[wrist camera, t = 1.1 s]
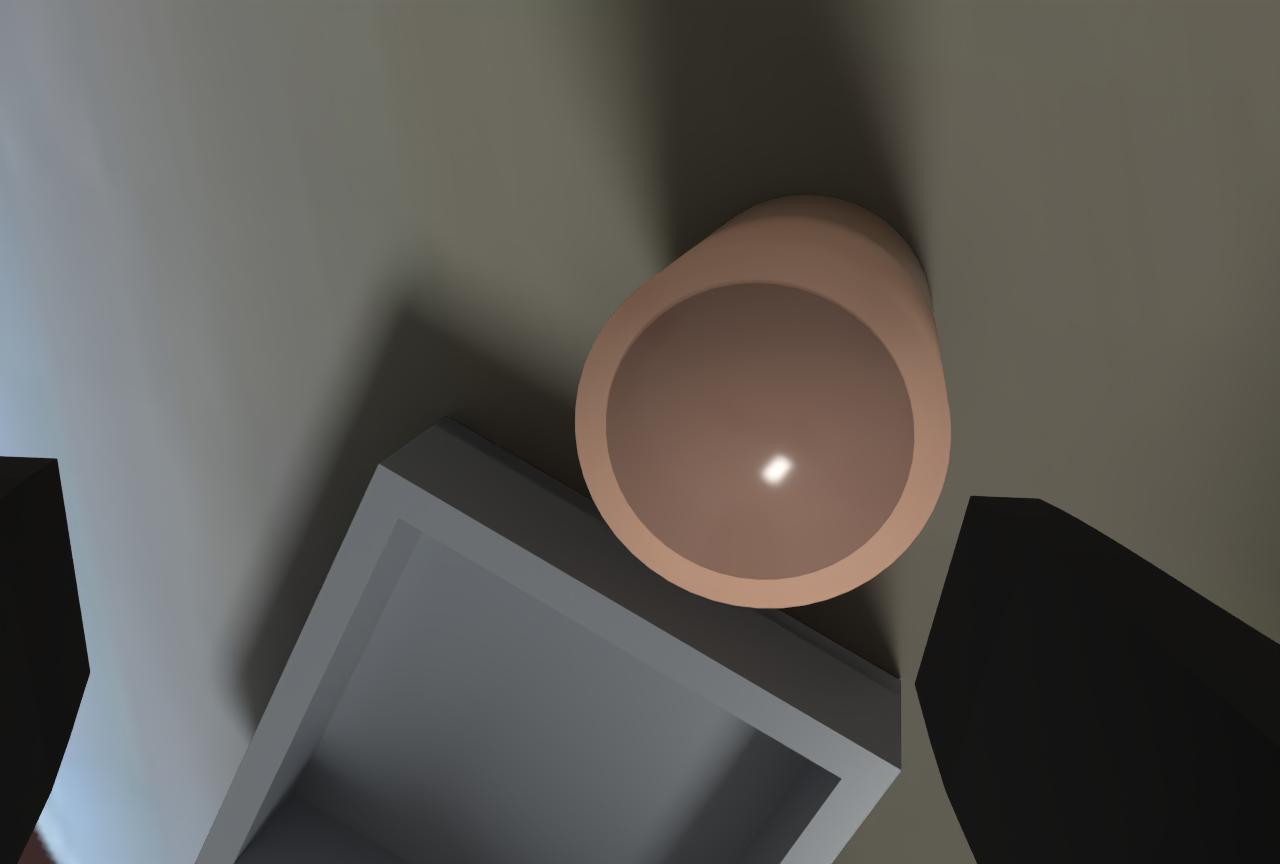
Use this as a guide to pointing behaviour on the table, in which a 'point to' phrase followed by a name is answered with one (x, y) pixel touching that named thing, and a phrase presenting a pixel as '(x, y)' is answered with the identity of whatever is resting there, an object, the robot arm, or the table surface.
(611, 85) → the table surface
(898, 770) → the tray
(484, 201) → the table surface
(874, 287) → the cup
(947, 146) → the table surface
